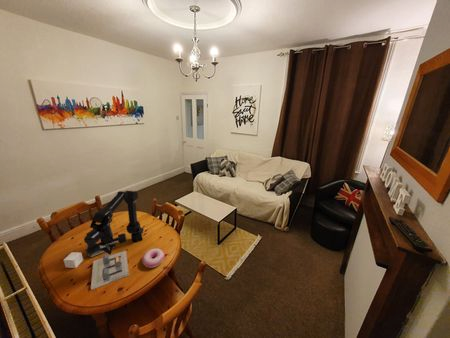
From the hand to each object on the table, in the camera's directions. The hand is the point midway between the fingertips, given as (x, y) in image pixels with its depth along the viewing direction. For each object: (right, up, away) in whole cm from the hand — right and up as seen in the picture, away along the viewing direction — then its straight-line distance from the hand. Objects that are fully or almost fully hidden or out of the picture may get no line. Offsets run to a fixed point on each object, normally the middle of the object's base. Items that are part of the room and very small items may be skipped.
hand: (110, 254), depth 106 cm
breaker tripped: (+2, -8, +4) cm, 9 cm away
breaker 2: (0, -11, -3) cm, 11 cm away
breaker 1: (-6, -7, +6) cm, 11 cm away
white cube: (-26, -9, +6) cm, 27 cm away
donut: (+22, -9, +10) cm, 26 cm away
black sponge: (-16, -5, +17) cm, 24 cm away
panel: (-1, -10, +3) cm, 11 cm away
